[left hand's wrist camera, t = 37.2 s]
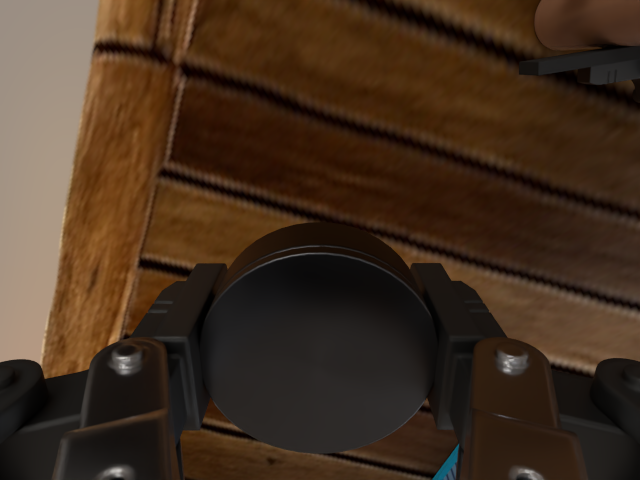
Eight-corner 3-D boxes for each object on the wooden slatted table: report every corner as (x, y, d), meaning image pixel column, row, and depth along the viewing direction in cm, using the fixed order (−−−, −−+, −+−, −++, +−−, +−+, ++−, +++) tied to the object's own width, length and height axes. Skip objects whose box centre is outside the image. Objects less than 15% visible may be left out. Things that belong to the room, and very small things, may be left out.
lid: (378, 417, 12) (387, 475, 10) (197, 370, 11) (175, 424, 10) (454, 257, 10) (481, 295, 8) (245, 192, 10) (230, 219, 8)
